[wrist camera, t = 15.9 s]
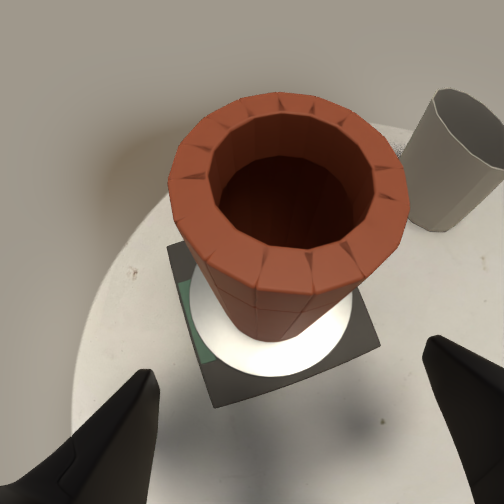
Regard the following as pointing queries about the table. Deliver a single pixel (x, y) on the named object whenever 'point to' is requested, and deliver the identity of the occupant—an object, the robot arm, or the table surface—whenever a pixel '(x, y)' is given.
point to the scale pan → (258, 352)
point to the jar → (286, 208)
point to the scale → (248, 386)
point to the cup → (452, 159)
